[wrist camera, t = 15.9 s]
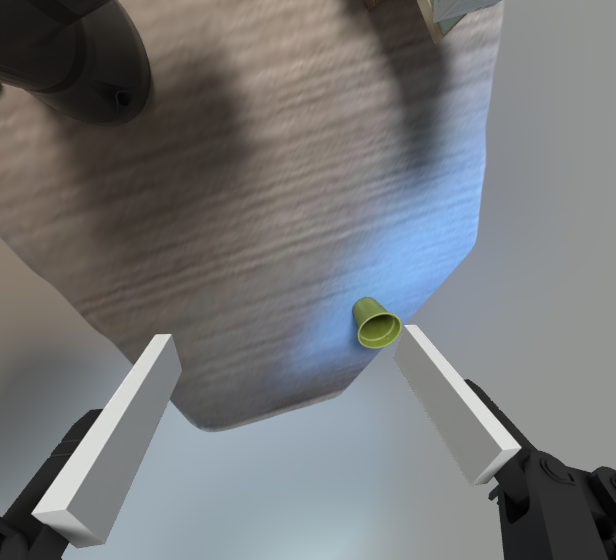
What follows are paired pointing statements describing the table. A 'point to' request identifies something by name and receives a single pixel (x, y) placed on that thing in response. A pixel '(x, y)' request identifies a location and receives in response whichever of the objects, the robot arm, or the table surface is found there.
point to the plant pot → (375, 323)
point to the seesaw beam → (438, 28)
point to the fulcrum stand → (371, 4)
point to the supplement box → (458, 7)
